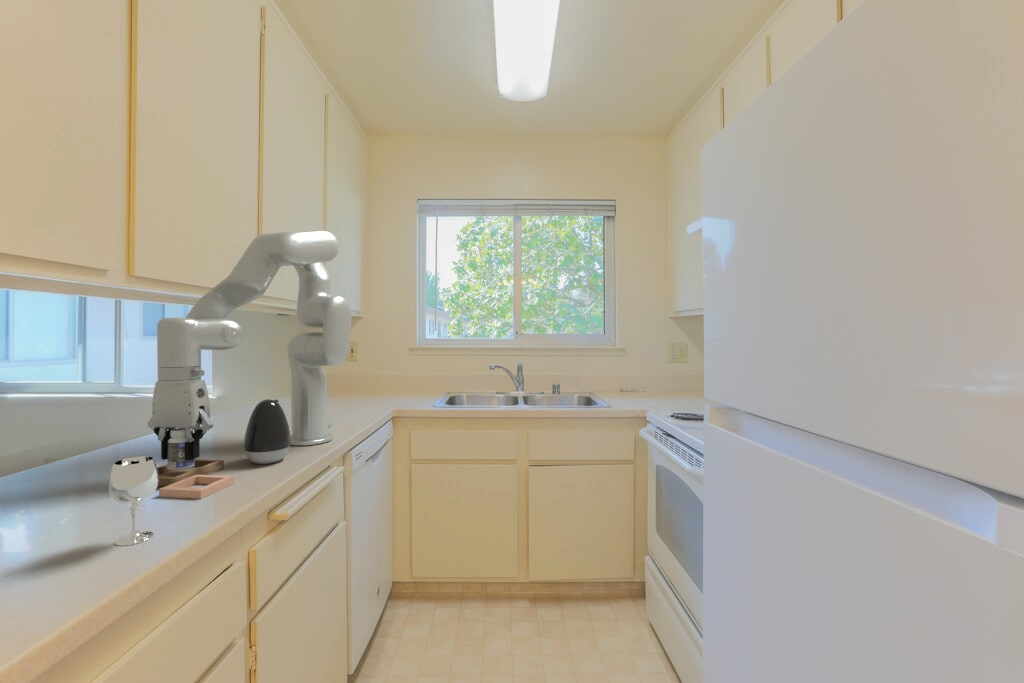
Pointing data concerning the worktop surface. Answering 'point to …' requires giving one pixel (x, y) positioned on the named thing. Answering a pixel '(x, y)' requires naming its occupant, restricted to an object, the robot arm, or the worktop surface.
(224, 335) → the robot arm
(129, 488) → the wineglass
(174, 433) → the pill bottle
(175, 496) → the frame
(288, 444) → the pump dispenser
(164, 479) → the tray
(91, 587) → the worktop surface
